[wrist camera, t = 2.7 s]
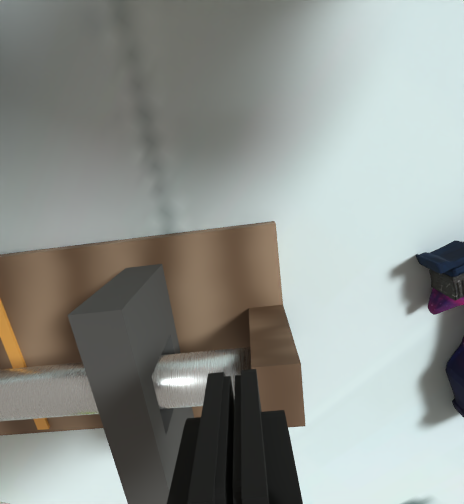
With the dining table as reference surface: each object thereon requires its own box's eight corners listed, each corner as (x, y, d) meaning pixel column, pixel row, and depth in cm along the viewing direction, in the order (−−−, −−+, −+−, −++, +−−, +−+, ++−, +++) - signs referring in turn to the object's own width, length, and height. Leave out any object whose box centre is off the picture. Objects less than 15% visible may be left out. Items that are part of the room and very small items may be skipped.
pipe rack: (273, 221, 20) (292, 249, 12) (290, 404, 24) (311, 504, 17) (-122, 269, 22) (-303, 317, 15) (-42, 429, 26) (-151, 527, 19)
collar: (162, 263, 18) (121, 309, 12) (194, 419, 22) (175, 517, 16) (125, 267, 19) (67, 315, 12) (163, 422, 22) (133, 519, 16)
